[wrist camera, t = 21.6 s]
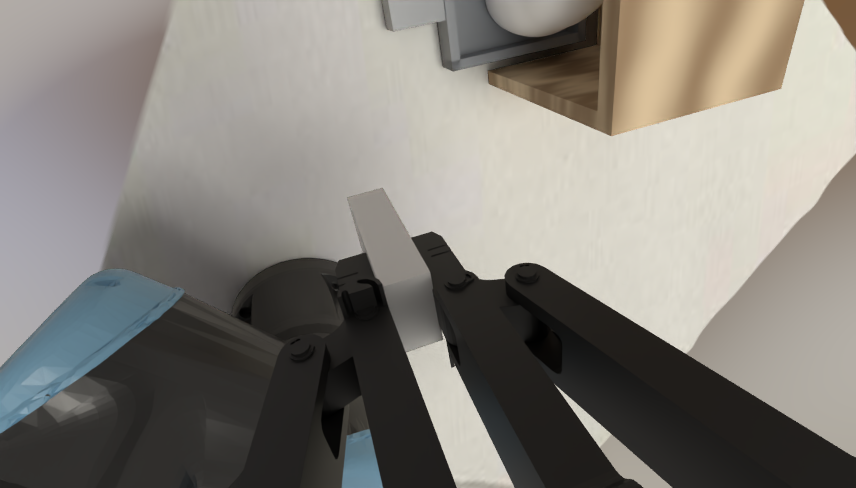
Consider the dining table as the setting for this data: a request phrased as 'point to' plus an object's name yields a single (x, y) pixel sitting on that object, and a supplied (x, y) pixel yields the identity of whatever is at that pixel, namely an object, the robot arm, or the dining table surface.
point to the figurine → (539, 15)
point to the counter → (661, 61)
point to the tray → (472, 31)
